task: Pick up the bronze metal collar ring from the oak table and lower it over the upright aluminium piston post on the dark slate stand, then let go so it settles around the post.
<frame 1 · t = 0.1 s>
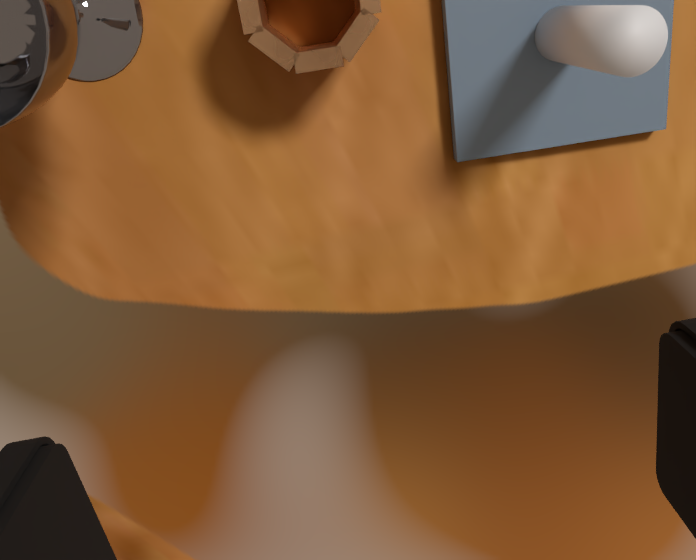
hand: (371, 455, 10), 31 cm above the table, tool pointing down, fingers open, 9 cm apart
piston stand: (554, 33, 37), on the table
wine glass: (79, 15, 35), on the table
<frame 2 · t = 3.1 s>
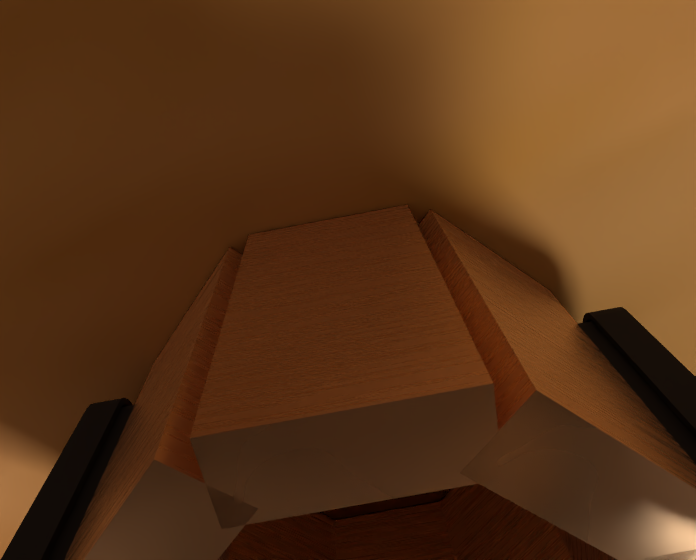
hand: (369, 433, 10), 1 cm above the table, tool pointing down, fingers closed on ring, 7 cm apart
ring: (365, 405, 11), on the table, touching gripper
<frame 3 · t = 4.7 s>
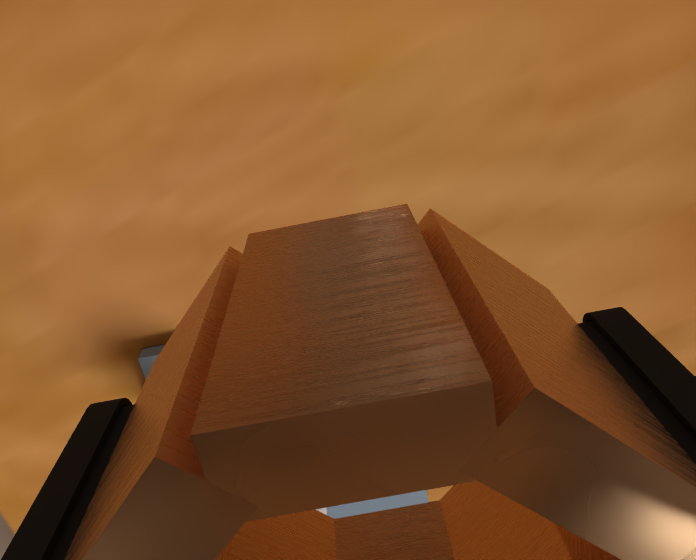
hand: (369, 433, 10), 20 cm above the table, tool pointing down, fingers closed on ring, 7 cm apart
piston stand: (294, 427, 34), on the table
ring: (365, 403, 11), point 19 cm above the table, touching gripper
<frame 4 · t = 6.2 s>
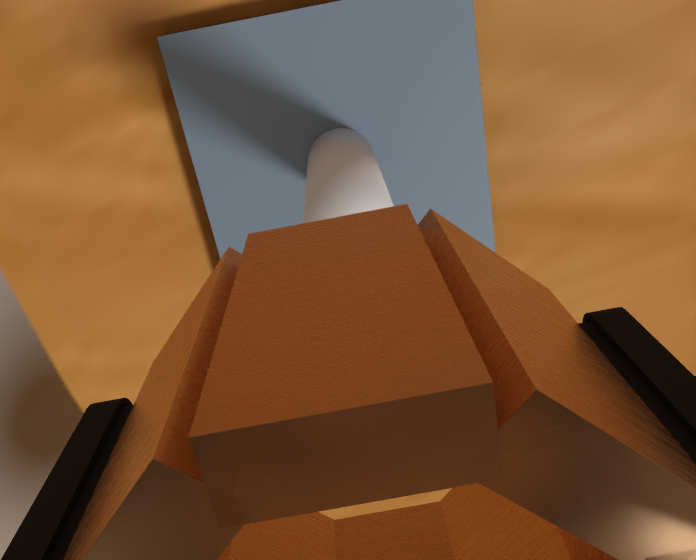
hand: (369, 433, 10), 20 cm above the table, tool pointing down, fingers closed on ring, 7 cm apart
piston stand: (340, 156, 29), on the table
ring: (365, 404, 11), point 20 cm above the table, touching gripper
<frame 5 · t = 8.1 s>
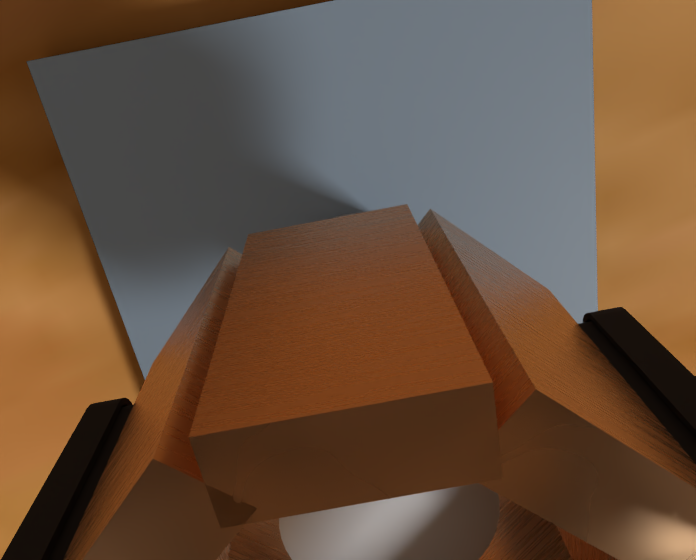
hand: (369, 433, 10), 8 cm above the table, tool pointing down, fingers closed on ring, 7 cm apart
piston stand: (352, 253, 18), on the table
ring: (365, 404, 11), point 7 cm above the table, touching gripper
when the fingers open (3 cm above the table, at t = 9.6 s): ring drops 1 cm, resting on piston stand.
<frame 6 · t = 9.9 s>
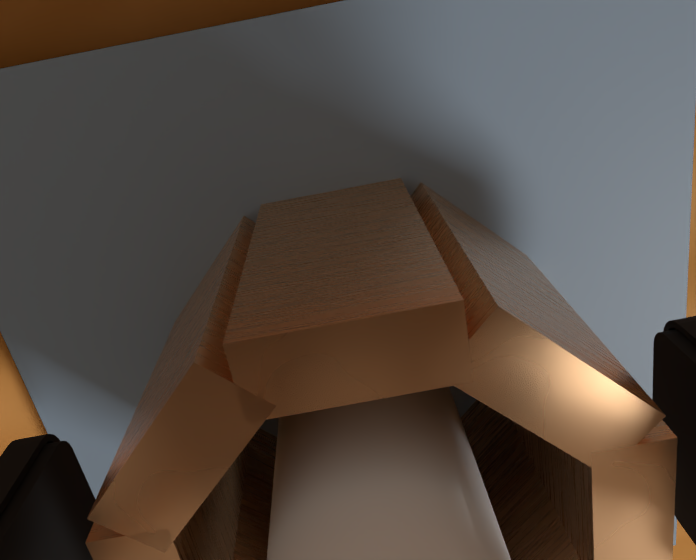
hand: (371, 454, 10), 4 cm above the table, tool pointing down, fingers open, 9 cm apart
piston stand: (356, 338, 13), on the table
ring: (364, 360, 12), point 1 cm above the table, touching piston stand
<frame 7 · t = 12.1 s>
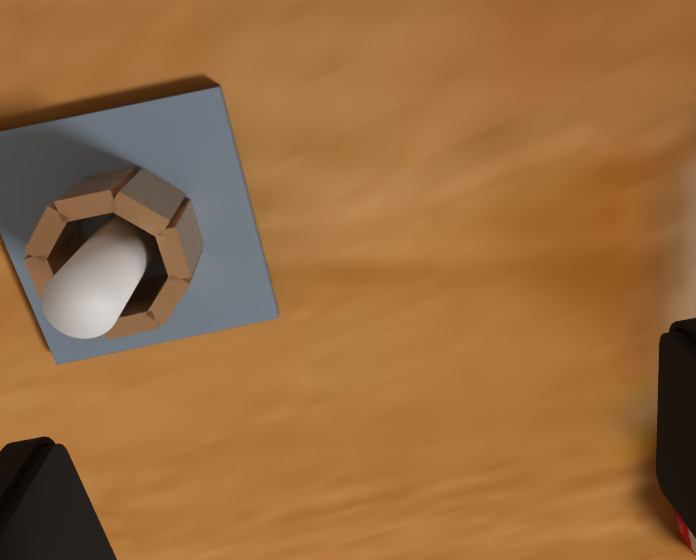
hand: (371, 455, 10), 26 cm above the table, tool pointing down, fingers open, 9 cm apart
piston stand: (136, 230, 34), on the table
ring: (133, 235, 33), point 1 cm above the table, touching piston stand
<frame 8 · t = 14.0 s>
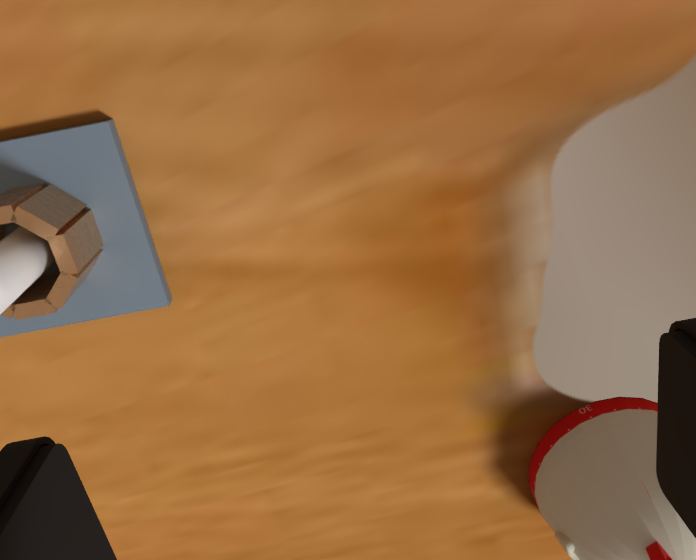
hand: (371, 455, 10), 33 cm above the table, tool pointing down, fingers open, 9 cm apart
kitchen timer: (607, 463, 53), on the table
piston stand: (51, 232, 42), on the table
ring: (46, 236, 41), point 1 cm above the table, touching piston stand
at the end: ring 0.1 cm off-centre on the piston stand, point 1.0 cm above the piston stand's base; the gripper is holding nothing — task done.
